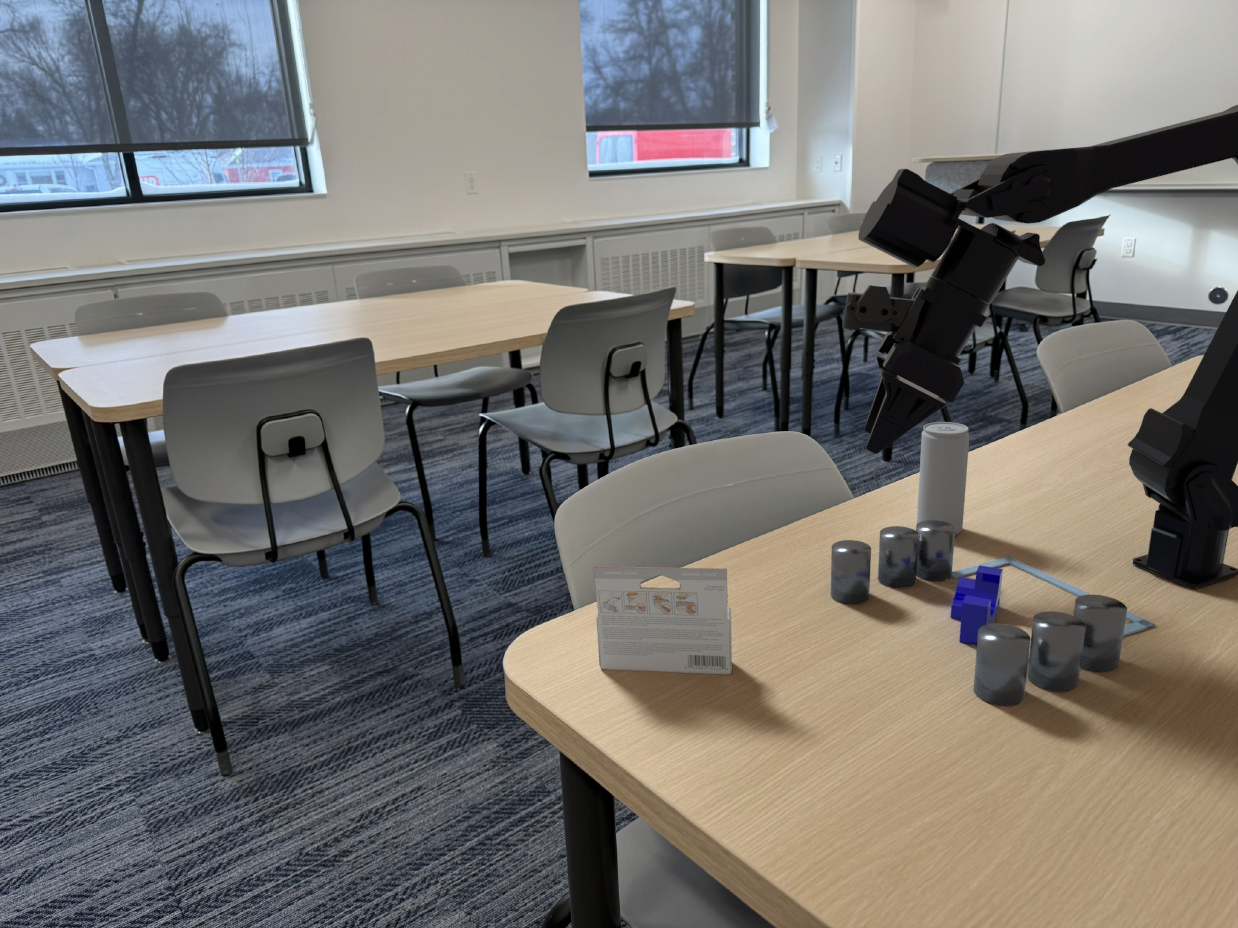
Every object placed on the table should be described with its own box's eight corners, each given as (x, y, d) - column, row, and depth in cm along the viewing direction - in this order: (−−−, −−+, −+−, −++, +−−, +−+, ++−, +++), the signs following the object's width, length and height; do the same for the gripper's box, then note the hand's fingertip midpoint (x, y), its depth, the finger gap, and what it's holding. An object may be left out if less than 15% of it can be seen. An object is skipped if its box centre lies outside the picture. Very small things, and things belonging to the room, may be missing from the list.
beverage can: (965, 540, 93) (973, 434, 89) (919, 538, 94) (925, 433, 90) (958, 522, 97) (965, 421, 93) (913, 522, 98) (919, 421, 94)
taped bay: (1009, 558, 88) (1009, 556, 88) (1154, 626, 74) (1154, 623, 74) (947, 574, 85) (947, 572, 85) (1086, 648, 71) (1086, 646, 71)
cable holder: (959, 600, 80) (961, 562, 79) (999, 608, 79) (1002, 569, 77) (940, 640, 74) (943, 599, 73) (984, 649, 72) (987, 607, 71)
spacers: (930, 560, 88) (933, 516, 87) (1135, 668, 68) (1143, 611, 66) (820, 589, 84) (820, 542, 82) (1003, 714, 63) (1009, 655, 62)
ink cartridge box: (604, 656, 74) (597, 553, 71) (732, 661, 72) (730, 556, 69) (599, 671, 72) (591, 566, 69) (731, 677, 70) (729, 569, 67)
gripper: (874, 252, 86) (798, 389, 91) (881, 248, 68) (786, 417, 73) (976, 302, 84) (894, 438, 89) (1010, 311, 67) (905, 480, 72)
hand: (869, 441), depth 81 cm, fingers open, 9 cm apart
